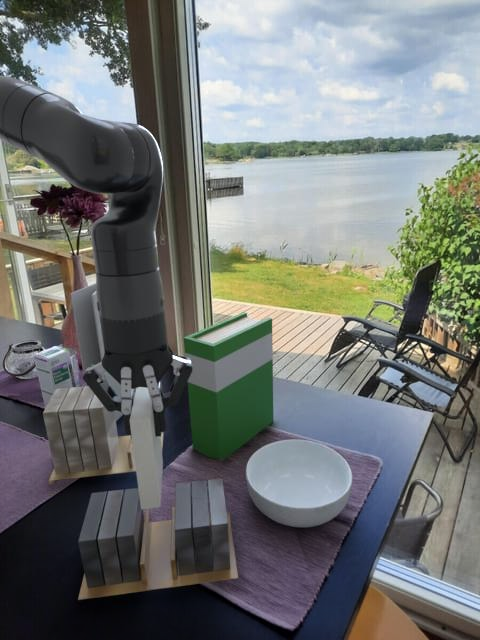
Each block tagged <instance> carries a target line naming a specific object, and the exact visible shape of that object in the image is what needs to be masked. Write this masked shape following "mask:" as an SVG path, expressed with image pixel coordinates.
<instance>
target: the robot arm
mask: <svg viewBox="0 0 480 640" xmlns="http://www.w3.org/2000/svg"><path fill="white" fill-rule="evenodd" d="M0 140H1V141H3V142H4V143H6V144H8V145H9V146H12V147H13V148H15V149H18V150H20V151H22V152H24V153H26V154H28V155H30V156H32V157H34V158H37V159H38V160H41V161H43V162H44V163H45V164H46V165H47V166H49V168H50V169H52V170H53V171H54V172H56V174H58V175H59V176H60V177H61V178H63V180H65V181H66V182H68V183H69V184H70V185H72V186H74V187H75V188H78V189H81V190H83V191H86V192H88V193H93V194H97V195H99V194H100V195H108V194H110V198H109V206H108V210H107V213H105V214H104V215H103V216H100V217H99V218H98V219H97V220H95V221H94V222H93V223H92V225H91V228H90V241H91V247H92V254H93V263H94V269H95V283H96V294H97V308H98V311H99V316H100V323H101V330H102V337H103V344H104V356H103V359H102V362H100V363H98V364H96V365H89V366H88V367H87V369H86V371H85V373H84V374H83V376H82V380H83V381H84V383H85V382H86V384H87V385H88V386H89V387H90V389H91V390H92V391H93V393H94V394H95V395H96V396H97V398H98V399H99V400H100V402H101V403H102V404H103V405H104V407H105V408H106V409H107V411H109V412H113V411H115V410H116V411H120V412H121V413H122V414H123V415H122V417H123V423H124V431H125V434H126V436H130V435H131V428H130V416H131V411H132V406H133V396H134V389H135V388H138V387H145V388H148V391H149V395H150V397H151V400H152V404H153V408H154V410H153V416H154V425H155V435H156V437H158V436H161V432H163V433H164V432H165V431H166V429H167V415H166V409H167V408H169V407H175V406H177V405H178V403H179V401H180V399H181V396H182V394H183V392H184V390H185V388H186V386H187V384H188V383H187V381H188V379H189V377H190V375H191V373H192V360H191V358H189V357H186V358H185V357H184V358H182V357H180V356H176V355H175V354H174V352H173V350H172V348H171V347H170V345H169V338H168V327H167V315H166V307H165V294H164V286H163V281H162V277H161V272H160V265H159V264H160V263H159V253H158V243H157V241H158V240H157V235H156V229H157V224H158V218H159V213H160V205H161V196H162V191H163V190H162V189H163V178H164V166H163V158H162V153H161V150H160V147H159V144H158V142H157V140H156V139H155V137H154V136H153V134H152V133H151V132H150V131H149V130H148V129H147V128H145V127H144V126H142V125H140V124H137V123H132V122H124V121H123V122H122V121H114V120H107V119H100V118H95V117H92V116H89V115H85V114H84V113H82V111H81V110H80V108H79V107H77V106H76V104H74V103H73V102H72V101H70V100H68V99H66V98H64V97H62V96H60V95H58V94H55V93H53V92H51V91H48V90H47V89H44V88H42V87H39V86H37V85H34V84H32V83H29V82H27V81H24V80H21V79H19V78H15V77H11V76H7V75H0ZM171 366H172V367H173V370H172V372H173V375H174V376H175V377H174V379H173V381H172V383H171V385H170V387H169V390H168V392H165V393H164V391H163V387H162V386H163V385H162V381H161V380H162V379H163V377H164V376H165V374H166V373H167V371H168V370H169V368H170V367H171ZM105 370H106V371H107V372H108V373H109V374H110V375H111V376H112V377H113V378H114V379H115V380H116V381H117V382H118V383H119V384H120V385H121V397H119V396H118V395H117V394H116V392H115V391H114V390H113V388H112V387H111V386H110V384H109V383H108V382H107V380H106V379H105V377H106V373H105ZM131 439H132V436H131Z"/></svg>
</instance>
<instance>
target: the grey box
mask: <svg viewBox="0 0 480 640" xmlns="http://www.w3.org/2000/svg"><path fill="white" fill-rule="evenodd" d="M69 295H70V301H71V308H72V314H73V320H74V326H75V332H76V338H77V342H78V343H77V344H78V350H79V355H80V362H81V367H82V373H83V375H84V373H85V371H86V369H87V367H88V366H89V365H96V364H98V363H100V362H102V359H103V356H104V344H103V337H102V330H101V323H100V316H99V311H98V308H97V294H96V282H95V283H93V284H90V285H87V286H85V287H83V288H80V289H78V290H75V291H72V292H70V293H69ZM105 373H106V377H105V379H106V380H107V382H108V383H109V384H110V386H111V387H112V388H113V390H114V391H115V392H116V394H117V395H118V396H119V397H121V385H120V384H119V383H118V382H117V381H116V380H115V379H114V378H113V377H112V376H111V375H110V374H109V373H108V372H107V371H106V370H105ZM84 384H85V386H88V385H87V384H86V382H85V381H84ZM135 392H136V388H135V389H134V396H133V402H134V397H135ZM114 413H115V419H116V422H117V421H118V420H119V419H120V418H121V417H123V414H122V413H121V412H120V411H116V410H115V411H114Z"/></svg>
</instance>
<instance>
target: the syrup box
mask: <svg viewBox="0 0 480 640" xmlns="http://www.w3.org/2000/svg"><path fill="white" fill-rule="evenodd" d="M33 360H34V364H35V369H36V373H37V378H38V382H39V387H40V390H41V391H40V392H41V396H42V400H43V404H44V409H45V408H46V406H47V405H48V403H49V401H50V399H51V398H52V396H53V394H54V392H55V391H56V389H60V388H69V389H70V388H72V387H77V385H76V380H75V374H74V369H73V364H72V358H71V353H70V349H67V348H65V347H61V346H57V345H54V346H52V347H50V348H47V349H45V350H41V351H39V352H36V353H34V354H33Z"/></svg>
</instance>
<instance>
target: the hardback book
mask: <svg viewBox="0 0 480 640" xmlns="http://www.w3.org/2000/svg"><path fill="white" fill-rule="evenodd" d="M183 347H184V358H186V357H189V358H191V360H192V373H191V375H190V377H189V379H188V381H187V383H186V384H187V394H188V405H189V406H188V407H189V416H190V429H191V440H192V441H191V442H192V449H193V450H195V451H197V452H199V453H201V454H203V455H205V456H207V457H209V458H212V459H213V460H223V459H227V458H229V457H230V456H231V455H232V454H233V453H235V452H236V451H237V450H238V449H240V448H241V447H243V446H244V445H245V444H247V443H248V442H249V441H250V440H251V439H253V438H254V437H256V435H259V433H260V432H262V431H263V430H265V428H267V427H268V426H269V425H270V424H272V423H273V422H274V370H273V369H274V360H273V359H274V356H273V355H274V351H273V318H272V317H267V318H264V319H263V320H261V319H257V318H253V317H248V313H247V312H244V311H243V312H241V313H238V314H236V315H233V316H231V317H229V318H227V319H224V320H222V321H220V322H217V323H215V324H212V325H210V326H208V327H206V328H203V329H201V330H198V331H196V332H194V333H191V334H189V335H187V336H184V337H183Z"/></svg>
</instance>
